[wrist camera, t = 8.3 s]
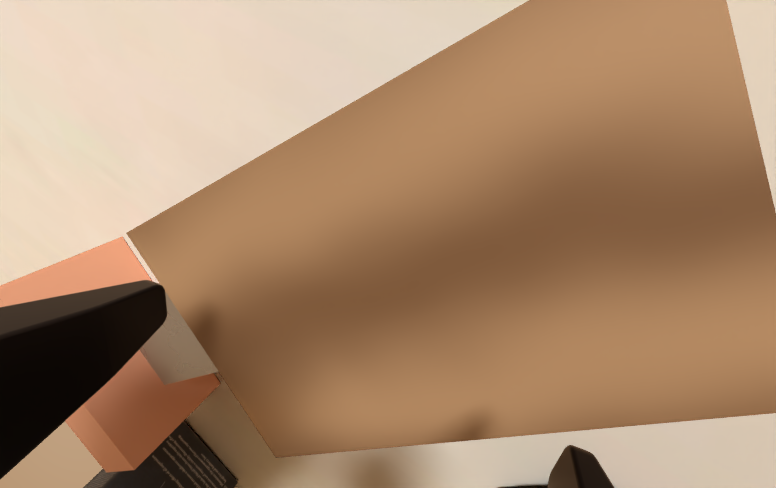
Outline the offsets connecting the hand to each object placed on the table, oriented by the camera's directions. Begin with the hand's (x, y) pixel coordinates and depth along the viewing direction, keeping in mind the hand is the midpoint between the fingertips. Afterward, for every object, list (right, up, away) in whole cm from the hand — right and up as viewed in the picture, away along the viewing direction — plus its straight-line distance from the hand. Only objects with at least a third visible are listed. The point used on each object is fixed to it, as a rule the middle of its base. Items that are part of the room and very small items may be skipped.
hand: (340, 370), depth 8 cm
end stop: (-15, -3, +19) cm, 24 cm away
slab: (+2, +2, +5) cm, 6 cm away
